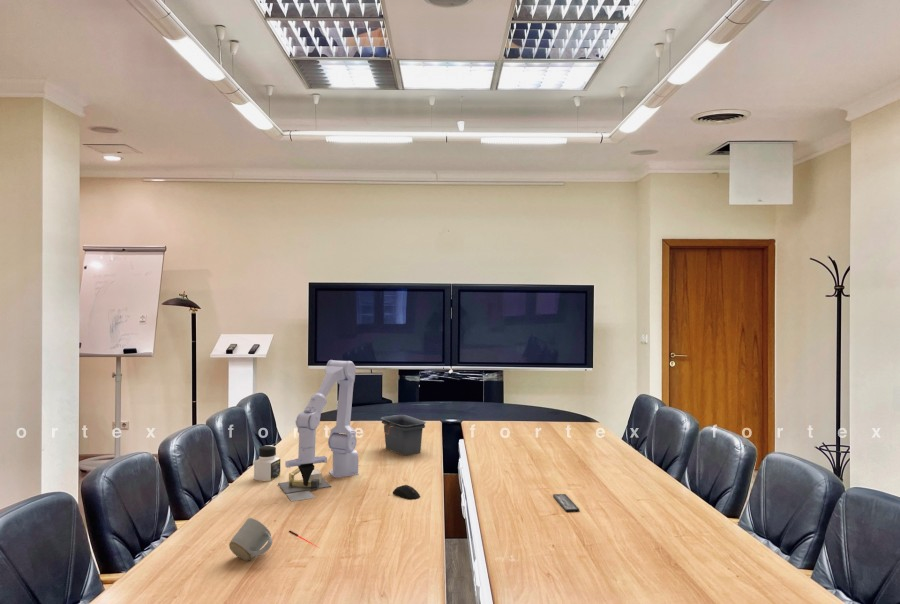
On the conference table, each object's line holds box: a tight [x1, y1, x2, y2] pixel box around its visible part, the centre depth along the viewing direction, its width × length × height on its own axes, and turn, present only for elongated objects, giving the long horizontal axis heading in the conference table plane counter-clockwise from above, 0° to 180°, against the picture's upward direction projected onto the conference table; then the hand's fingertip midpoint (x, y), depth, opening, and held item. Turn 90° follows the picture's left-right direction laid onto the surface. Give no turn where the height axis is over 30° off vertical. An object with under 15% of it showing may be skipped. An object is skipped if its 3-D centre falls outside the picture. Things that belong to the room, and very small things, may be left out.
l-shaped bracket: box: [288, 468, 319, 488], centre depth 205 cm, size 10×11×4 cm
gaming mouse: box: [392, 484, 421, 501], centre depth 193 cm, size 6×15×4 cm, turn 41°
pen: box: [288, 530, 319, 548], centre depth 158 cm, size 1×19×1 cm, turn 46°
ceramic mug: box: [228, 517, 273, 562], centre depth 146 cm, size 11×8×8 cm
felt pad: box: [285, 490, 316, 503], centre depth 193 cm, size 8×8×1 cm
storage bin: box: [380, 414, 427, 457], centre depth 253 cm, size 21×16×14 cm
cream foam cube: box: [309, 469, 323, 483], centre depth 207 cm, size 5×5×4 cm
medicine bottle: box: [253, 444, 281, 482], centre depth 214 cm, size 7×7×12 cm
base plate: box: [277, 477, 332, 495], centre depth 204 cm, size 16×12×1 cm
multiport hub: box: [552, 493, 580, 513], centre depth 185 cm, size 4×14×2 cm, turn 6°
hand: (305, 485), depth 199 cm, fingers closed, pressing on l-shaped bracket
